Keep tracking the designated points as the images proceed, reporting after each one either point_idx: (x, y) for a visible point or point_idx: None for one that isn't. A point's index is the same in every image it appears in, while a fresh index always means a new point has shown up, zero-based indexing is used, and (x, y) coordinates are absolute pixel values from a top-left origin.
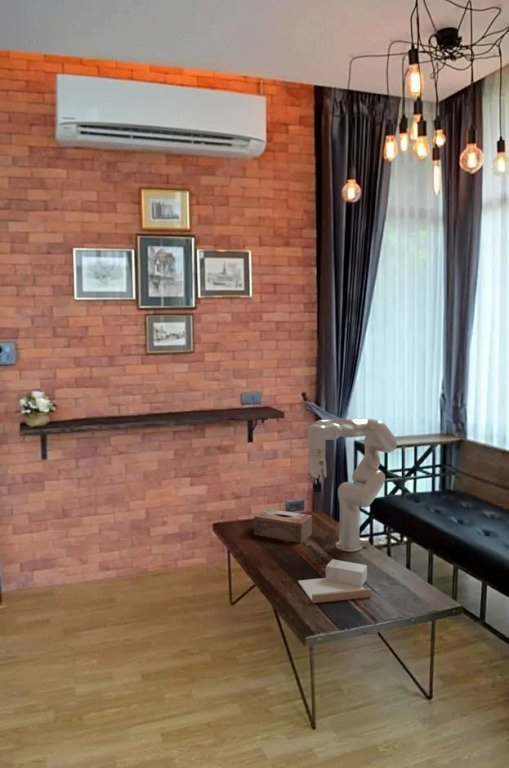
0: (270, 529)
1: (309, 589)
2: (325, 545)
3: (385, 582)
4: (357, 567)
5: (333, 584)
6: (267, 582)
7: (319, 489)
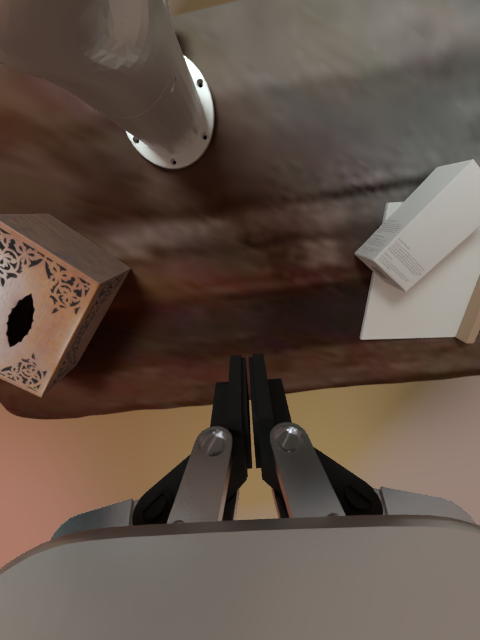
0: (80, 345)
1: (410, 329)
2: (150, 200)
3: (468, 104)
4: (471, 203)
5: None
6: (338, 387)
7: (282, 387)
